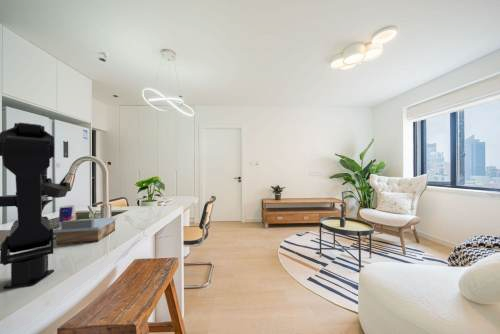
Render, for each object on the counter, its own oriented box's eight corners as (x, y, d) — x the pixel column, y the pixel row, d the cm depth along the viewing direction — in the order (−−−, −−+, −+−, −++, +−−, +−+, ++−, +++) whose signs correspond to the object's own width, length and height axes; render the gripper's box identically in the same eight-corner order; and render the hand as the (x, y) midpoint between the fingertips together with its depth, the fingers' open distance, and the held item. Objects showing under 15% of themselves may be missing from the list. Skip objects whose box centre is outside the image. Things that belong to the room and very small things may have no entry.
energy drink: (64, 234, 83) (64, 207, 83) (55, 233, 84) (55, 207, 84) (78, 230, 88) (78, 205, 88) (69, 229, 89) (69, 205, 89)
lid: (98, 229, 74) (98, 219, 74) (53, 232, 70) (53, 222, 70) (116, 219, 88) (116, 211, 88) (80, 221, 85) (80, 213, 85)
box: (97, 241, 74) (97, 229, 74) (56, 245, 71) (56, 232, 71) (115, 230, 88) (115, 220, 88) (80, 232, 84) (80, 222, 84)
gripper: (38, 176, 52) (38, 230, 52) (82, 174, 71) (82, 214, 71) (-12, 177, 50) (-12, 234, 50) (47, 174, 68) (46, 216, 68)
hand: (34, 223), depth 60 cm, fingers closed
